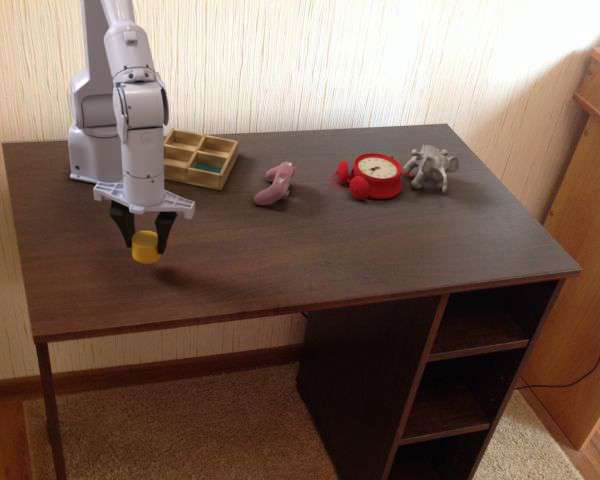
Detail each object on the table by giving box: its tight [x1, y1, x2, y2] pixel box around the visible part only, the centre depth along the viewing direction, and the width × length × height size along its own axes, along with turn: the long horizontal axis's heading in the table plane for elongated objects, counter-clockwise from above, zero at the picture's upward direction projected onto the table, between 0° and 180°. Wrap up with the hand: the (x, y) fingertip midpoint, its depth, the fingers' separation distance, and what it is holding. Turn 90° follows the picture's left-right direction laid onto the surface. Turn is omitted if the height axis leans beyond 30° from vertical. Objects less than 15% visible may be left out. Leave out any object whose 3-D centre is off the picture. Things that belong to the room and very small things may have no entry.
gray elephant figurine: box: [402, 144, 460, 194], centre depth 142 cm, size 9×12×8 cm
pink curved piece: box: [253, 160, 298, 206], centre depth 135 cm, size 10×5×7 cm, turn 168°
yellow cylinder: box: [131, 230, 162, 265], centre depth 115 cm, size 4×4×3 cm
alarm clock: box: [330, 152, 414, 201], centre depth 141 cm, size 10×6×15 cm
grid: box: [164, 127, 240, 191], centre depth 139 cm, size 13×13×3 cm
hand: (146, 247), depth 115 cm, fingers closed on yellow cylinder, 4 cm apart
